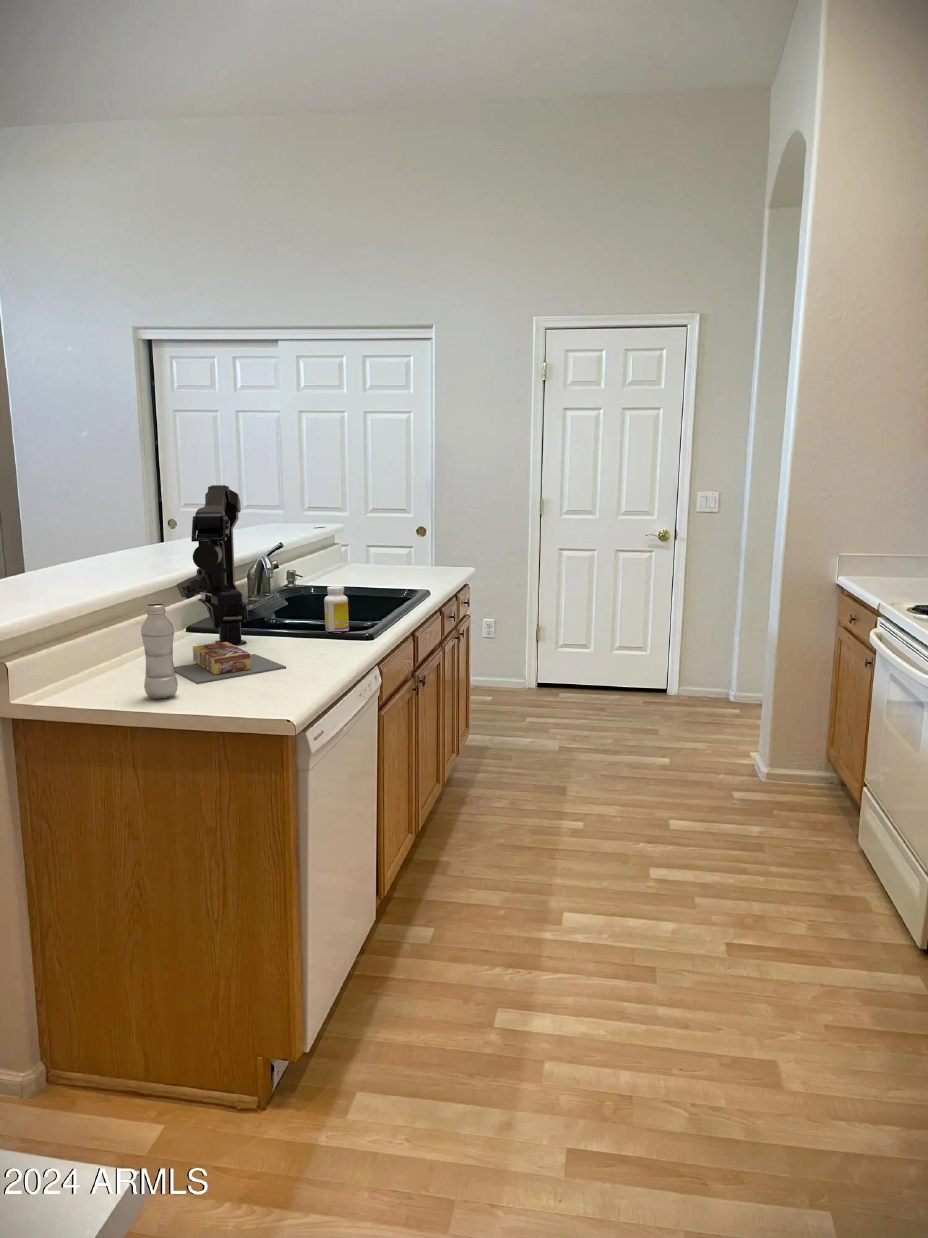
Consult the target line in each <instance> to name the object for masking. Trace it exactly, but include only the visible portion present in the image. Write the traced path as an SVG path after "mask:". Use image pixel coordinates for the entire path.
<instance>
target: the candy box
mask: <svg viewBox="0 0 928 1238" xmlns="http://www.w3.org/2000/svg"><path fill="white" fill-rule="evenodd" d="M250 654H251V652H248V651H246V650H244V649H243V648H240V647H238V646H237V645H232V644H230V643H228V642H222V643H215V642H214V643H208V644H201V645H194V646H192V661H193V662H194V664H195V663H197V664H198V665H200V666H202V667H203V668H205V669H207V670H208V671H210V672H212V673H213V674H215V675H217V674H223V673H230V672H236V671H242V670H249V669H251V661H250Z"/></svg>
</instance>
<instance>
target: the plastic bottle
mask: <svg viewBox="0 0 928 1238" xmlns="http://www.w3.org/2000/svg"><path fill="white" fill-rule="evenodd" d="M145 610H146V611H145V615H147V617H146V618H145V620H144V621H143V623H142V625H141V628H140V633H141V634H140V635H141V638H142V645H143V648H144V655H145V677H144V684H143V685H144V687H143V688H144V691H145V694H146V696H147V697H148V698H151V699H165V698H166V699H167V698H170V697H173V696H175V694H176V693H177V691H178V679H177V675H176V674H175V671H174V667H175V666H174V655H173V652H174V651H173V650H174V636H175V635H174V634H175V627H174V625H173V622H171V620H170V619H169V618H168V617H167V616H166V615H165V614H167V610H166V605H165V603H164V602H163V603H162V602H153V603H147V604H146V605H145Z"/></svg>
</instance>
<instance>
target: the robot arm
mask: <svg viewBox="0 0 928 1238" xmlns="http://www.w3.org/2000/svg"><path fill="white" fill-rule="evenodd" d="M204 498H205V499H204V501H205V503H204V506H203V507H200V508H198V509H197V510H196V511H195V514H194V515H193V516H192V525H191V538H190V539H191V542H193V543H195V542H198V546H197V547H196V548H195V549H194V551H193V553H192V560H193V563H194V565H195V566H196V567H197V569H196V575H193V576H191V577H189V578H186V579H185V580H183V581H180V582H179V583H177V584H176V587H177V589H178V590H177V591H178V592H179V595H180V597H182V598H185V599H192V598H193V597H195V596H196V595H200V598H198V599H197V601H198V602H200V603H201V604H202V605H203V606H204V607H206V610H207V613H208V616H209V619H210V621H211V624H212V626H213V628H214V629H217V630H218V639H219V640H215V641H214V644H215V643H222V642H228V643H230V644H232V645H234V646H238V645H244V644H247V641H246V640H243V639H242V628H241V627H242V625H241V623H245V622H247V621H249V616H248V615H249V613H248V607H247V606H248V605H247V604H246V603H245V600H244V599H243V597H244V596H243V593H242V592H241V590H240V589H239V587H238V586H237V585H236V576H235V551H234V549H235V548H234V527H235V526H236V524H237V522H238V521H239V513H241V509H242V508H241V506H242V505H241V498H240V495H239V493H237V492H236V491H233V490H231V489H230V486H229V485H227V484H226V485H225V484H224V485H223V484H222V485H221V484H216V485H215V484H214V485H213V484H211V485H210V486H207V492H206V493H205V497H204Z"/></svg>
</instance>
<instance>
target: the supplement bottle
mask: <svg viewBox="0 0 928 1238" xmlns="http://www.w3.org/2000/svg"><path fill="white" fill-rule="evenodd" d="M326 592H327V596H325V597H324V600H323V603H324V625H325V626H324V627H325V631H347V632H348V631H349V630H350V621H349V620H350V617H349V598H348V596H346V595H345V594H344V592H345V587H344V586H342V585H331V586H327V591H326Z"/></svg>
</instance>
